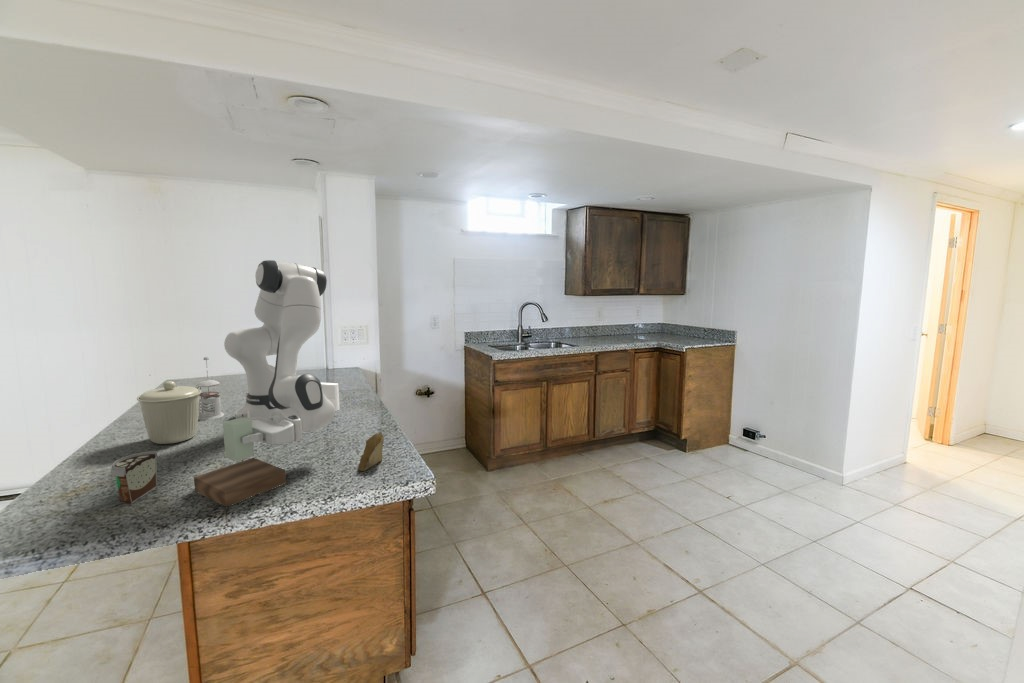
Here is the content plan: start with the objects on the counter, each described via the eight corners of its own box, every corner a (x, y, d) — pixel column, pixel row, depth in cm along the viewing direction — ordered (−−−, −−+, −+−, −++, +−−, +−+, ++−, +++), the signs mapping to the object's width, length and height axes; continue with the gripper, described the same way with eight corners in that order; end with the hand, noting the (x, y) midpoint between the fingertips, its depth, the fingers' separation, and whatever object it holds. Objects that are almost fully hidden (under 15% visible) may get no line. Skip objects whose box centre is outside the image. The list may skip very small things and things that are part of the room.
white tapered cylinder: (313, 412, 194) (311, 385, 192) (324, 406, 203) (323, 380, 201) (332, 414, 192) (331, 386, 191) (343, 408, 201) (342, 382, 199)
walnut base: (195, 491, 122) (193, 477, 121) (254, 470, 135) (253, 457, 135) (226, 507, 114) (225, 492, 113) (285, 483, 127) (285, 470, 127)
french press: (214, 420, 181) (209, 359, 178) (185, 419, 182) (180, 358, 178) (229, 412, 191) (225, 355, 188) (202, 412, 191) (198, 354, 188)
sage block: (225, 457, 122) (222, 422, 121) (244, 451, 127) (241, 417, 125) (235, 461, 120) (232, 425, 118) (254, 455, 124) (251, 420, 123)
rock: (364, 468, 133) (393, 455, 140) (352, 443, 135) (381, 430, 142) (353, 479, 140) (381, 466, 147) (342, 454, 142) (370, 442, 149)
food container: (137, 484, 125) (133, 450, 123) (160, 484, 125) (157, 450, 124) (100, 507, 113) (96, 469, 111) (127, 506, 113) (123, 468, 112)
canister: (169, 430, 169) (164, 375, 166) (216, 431, 168) (212, 376, 165) (126, 447, 151) (120, 386, 148) (179, 449, 150) (174, 388, 148)
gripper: (262, 408, 138) (214, 420, 127) (304, 420, 128) (255, 433, 116) (264, 428, 139) (216, 441, 127) (305, 441, 129) (256, 457, 117)
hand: (235, 438), depth 122 cm, fingers closed on sage block, 5 cm apart
